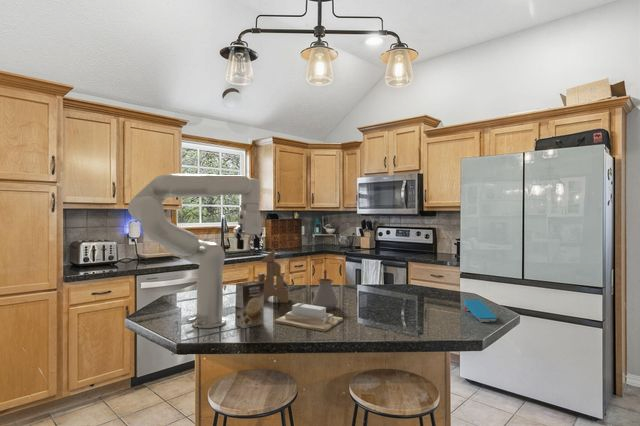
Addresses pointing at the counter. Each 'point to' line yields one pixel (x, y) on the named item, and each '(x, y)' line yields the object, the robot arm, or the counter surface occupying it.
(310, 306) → the white block
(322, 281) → the coffee pot
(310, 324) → the cradle
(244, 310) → the coffee box
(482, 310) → the blue block
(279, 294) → the wooden toy
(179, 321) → the counter surface
